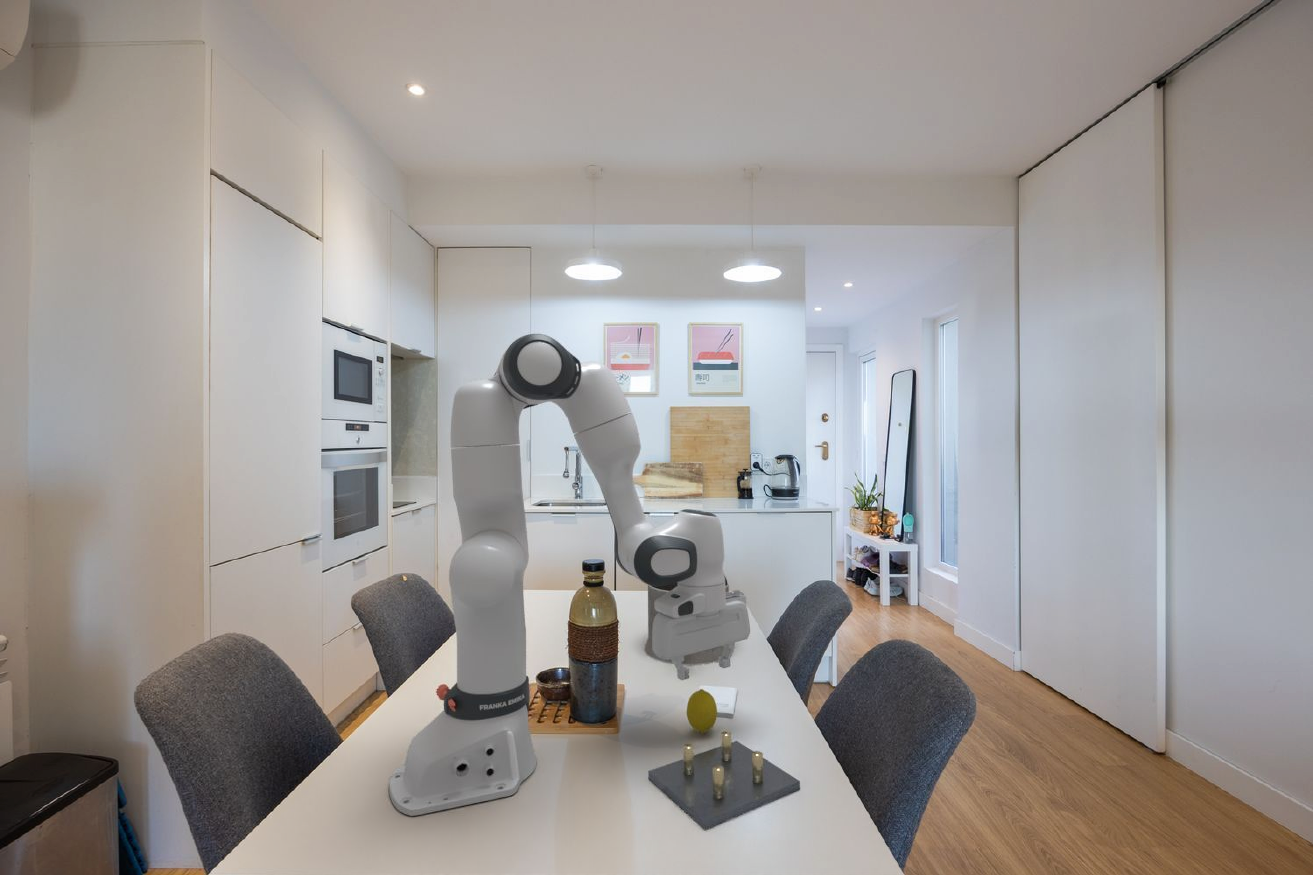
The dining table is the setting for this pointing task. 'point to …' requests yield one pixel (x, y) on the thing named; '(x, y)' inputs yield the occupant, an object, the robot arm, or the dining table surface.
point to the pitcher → (653, 594)
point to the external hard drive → (723, 699)
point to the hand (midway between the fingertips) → (704, 672)
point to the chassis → (722, 782)
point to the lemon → (701, 711)
